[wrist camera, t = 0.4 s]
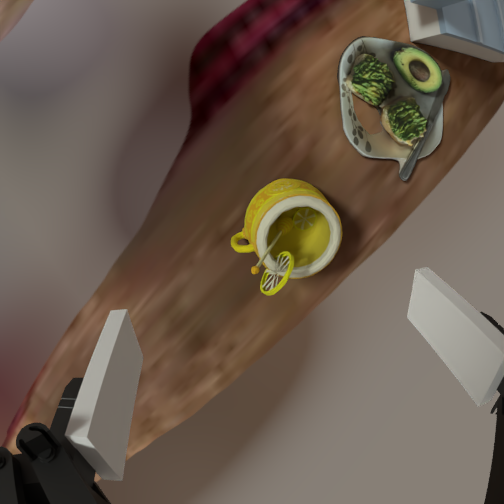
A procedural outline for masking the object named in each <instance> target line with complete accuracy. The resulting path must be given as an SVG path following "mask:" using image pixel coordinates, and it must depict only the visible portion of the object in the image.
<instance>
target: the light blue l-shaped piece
mask: <svg viewBox="0 0 504 504" xmlns="http://www.w3.org/2000/svg"><path fill="white" fill-rule="evenodd" d="M410 2H411V3H415V4H419V5H422V6H426V7H430V8H433V9H436V11H437V16H438V21H439V27H440V33H441V34H443V35H446V36H450V37H453V38H457V39H460V40H464V41H467V42H470V43H473V44H476V45H479V46H482V47H485V48H488V49H490V50H493V51H496V52H498V53H501V54H504V0H410Z"/></svg>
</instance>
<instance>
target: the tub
mask: <svg viewBox="0 0 504 504" xmlns="http://www.w3.org/2000/svg"><path fill="white" fill-rule="evenodd" d="M404 4H405V9H406V15H407V20H408V26H409V33H410V40H411V42H416V43H421V44H426V45H430V46H435V47H439V48H443V49H448V50H452V51H455V52H459V53H463V54H466V55H470V56H473V57H477V58H480V59H483V60H486V61H489V62H504V54H501V53H498V52H496V51H493V50H490V49H488V48H485V47H482V46H479V45H476V44H473V43H470V42H467V41H464V40H460V39H457V38H453V37H450V36H446V35H443V34H441V33H440V27H439V21H438V16H437V11H436V9H433V8H430V7H426V6H422V5H419V4H415V3H411V2H410V0H404Z"/></svg>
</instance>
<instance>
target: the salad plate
mask: <svg viewBox="0 0 504 504" xmlns="http://www.w3.org/2000/svg"><path fill="white" fill-rule="evenodd" d="M374 57H375V58H374ZM337 79H338V83H339V88H340V107H341V115H342V121H343V130H344V132H345V135H346V137H347V138H348V140H349V143H350V144H351V145H352V146H353V147H354V148H355V149H356V150H357V151H358V152H359V153H360V154H361V155H362V156H365V157H369V158H379V159H393V160H397V161H399V163H400V170H399V177H400V178H401V179H402V180H404V181H406V180H407V179H408V178H409V177H410V175H411V172H412V170H413V168H414V166H415V164H416V161H417V159H420V158H422V157H425V156H427V155H429V154H430V153H431V152H432V151H433V150H434V149H435V148H436V147H437V145H438V144H439V142H440V140H441V137H442V130H443V104H442V102H443V100H444V96H445V95H446V94H447V91H448V87H449V83H450V74H449V72H448V70H446V69H445V70H444V71H442V70H441V69H440V67H439V65H438V63H437V62H436V61H435V60H434V59H433V58H432V57H431V56H430V55H429V54H427V53H426V52H425V51H423V50H421V49H420V48H418V47H416V46H413V45H410V44H406V43H401V42H396V41H390V40H386V39H380V38H376V37H365V36H362V37H359V38H357V39H355V40H353V41H352V42H351V43H350V44H349V45H348V46H347V47H346V49H345V50H344V52H343V53H342V55H341V58H340V61H339V66H338V74H337ZM352 92H353V93H354V94H355V95H356V96H358V97H359V98H361V99H363V100H364V101H366V102H368V103H369V104H372V105H373V106H375V107H376V108H377V110H378V112H379V114H380V116H381V117H380V120H381V121H380V124H381V126H382V127H383V131H382V132H380V133H377V134H372V135H370V134H369V133H368V132H367V131H366V130H365V129H364V128H363V127H362V125H361V123H360V122H359V120H358V119H357V116H356V114H355V111H354V107H353V101H352Z"/></svg>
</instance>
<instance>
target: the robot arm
mask: <svg viewBox="0 0 504 504" xmlns="http://www.w3.org/2000/svg"><path fill="white" fill-rule="evenodd" d="M407 318H408V319H409V320H410V322H411V323H412V324H413V325H414V326H415V328H416V329H417V330H418V331H419V332H420V333H421V335H422V336H423V337H424V338H425V340H426V341H427V342H428V343H429V344H430V346H431V347H432V348H433V349H434V351H435V352H436V353H437V354H438V355H439V357H440V358H441V359H442V360H443V362H444V363H445V364H446V365H447V367H448V368H449V369H450V370H451V372H452V373H453V374H454V376H455V377H456V378H457V380H458V381H459V382H460V383H461V385H462V386H463V387H464V389H465V390H466V391H467V393H468V394H469V395H470V397H471V398H472V399H473V401H474V402H475V403H476V405H477V406H478V407H479V406H481V405H483V404H485V403H487V402H489V401H491V399H492V398H493V396H494V394H495V392H496V390H498V392H499V393H500V396H499V398H498V400H497V401H496V403H495V405H494V406H493V408H492V410H491V413H493V412H494V411H495V409H496V408H497V413H496V414H497V422H496V433H495V443H494V451H493V459H492V465H491V472H490V477H489V483H488V488H487V493H486V498H485V502H484V504H504V328H502V327H501V326H500V325H498V323H497V322H496V321H495V320H494V319H493V318H492V317H490V316H489V315H487V314H485V313H483V312H479V311H477V310H476V309H475V308H474V307H473V306H472V305H471V304H470V303H469V302H467V301H466V300H465V299H464V298H463V297H462V296H461V295H460V294H459V293H457V292H456V291H455V290H454V289H453V288H452V287H450V286H449V285H448V284H447V283H446V282H445V281H443V280H442V279H441V278H440V277H439V276H438V275H436V274H435V273H434V272H433V271H431V270H430V269H429V268H428V267H427V268H422V269H417V270H415V276H414V282H413V287H412V294H411V299H410V304H409V309H408V314H407ZM142 362H143V355H142V352H141V349H140V347H139V344H138V341H137V338H136V335H135V332H134V329H133V326H132V323H131V320H130V317H129V314H128V311H127V309H123V310H112V311H110V314H109V316H108V318H107V321H106V323H105V326H104V328H103V330H102V333H101V335H100V338H99V340H98V343H97V345H96V348H95V350H94V353H93V355H92V358H91V360H90V363H89V366H88V368H87V371H86V374H85V376H84V378H73V379H72V380H71V381H70V383H69V384H68V385H67V386H66V387H65V390H64V392H63V395H62V397H61V398H62V400H60V403H59V405H58V407H59V408H57V411H56V413H55V416H54V419H53V422H52V424H51V427H50V430H49V429H48V428H47V426H46V425H44V424H41V423H31V424H29V425H26V426H25V427H24V428H22V429H21V431H20V432H19V434H18V435H17V439H16V446H17V448H18V449H19V450H20V451H21V453H22V454H16V455H12V454H11V453H10V451H9V450H8V449H7V448H4V447H0V504H111V503H110V502H109V500H108V499H107V498H106V496H105V495H104V493H103V492H102V490H101V489H100V488H99V486H98V485H97V483H96V482H95V481H94V477H95V472H96V473H97V474H98V475H99V476H100V477H101V478H102V479H106V480H118V481H122V480H123V472H124V465H125V458H126V451H127V444H128V438H129V432H130V426H131V420H132V414H133V408H134V403H135V397H136V392H137V387H138V382H139V377H140V372H141V367H142Z"/></svg>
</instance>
